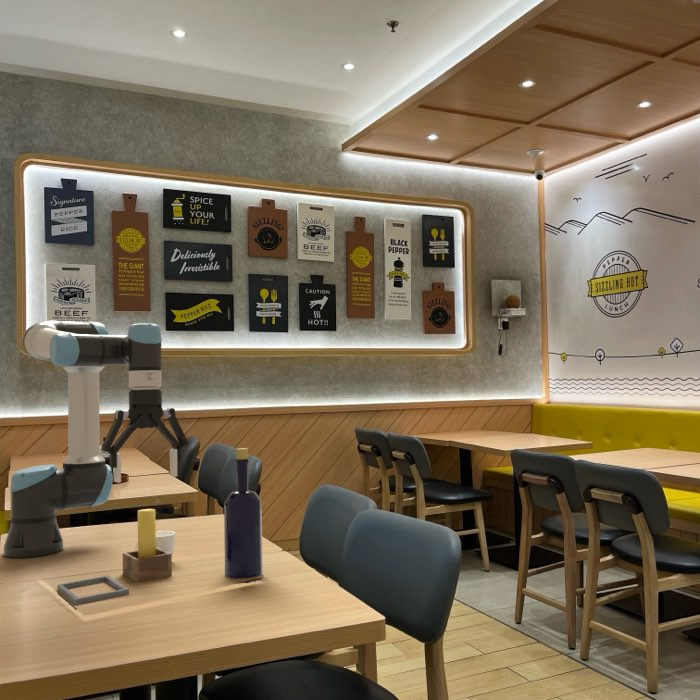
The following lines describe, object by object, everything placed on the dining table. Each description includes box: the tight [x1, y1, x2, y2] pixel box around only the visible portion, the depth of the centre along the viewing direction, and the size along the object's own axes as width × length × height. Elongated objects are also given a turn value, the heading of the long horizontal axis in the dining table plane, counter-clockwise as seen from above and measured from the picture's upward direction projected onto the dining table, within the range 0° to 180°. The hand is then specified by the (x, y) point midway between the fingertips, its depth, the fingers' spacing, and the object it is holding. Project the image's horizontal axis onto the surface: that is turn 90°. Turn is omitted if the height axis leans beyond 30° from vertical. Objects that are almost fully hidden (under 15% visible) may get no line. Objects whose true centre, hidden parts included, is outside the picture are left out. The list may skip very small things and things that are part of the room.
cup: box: [134, 530, 177, 557], centre depth 175 cm, size 7×10×8 cm
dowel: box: [137, 508, 157, 559], centre depth 164 cm, size 4×4×15 cm
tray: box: [56, 575, 130, 610], centre depth 151 cm, size 14×11×2 cm
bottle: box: [223, 447, 264, 584], centre depth 164 cm, size 9×9×30 cm
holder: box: [122, 547, 173, 583], centre depth 164 cm, size 9×9×6 cm
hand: (146, 479), depth 165 cm, fingers open, 13 cm apart
